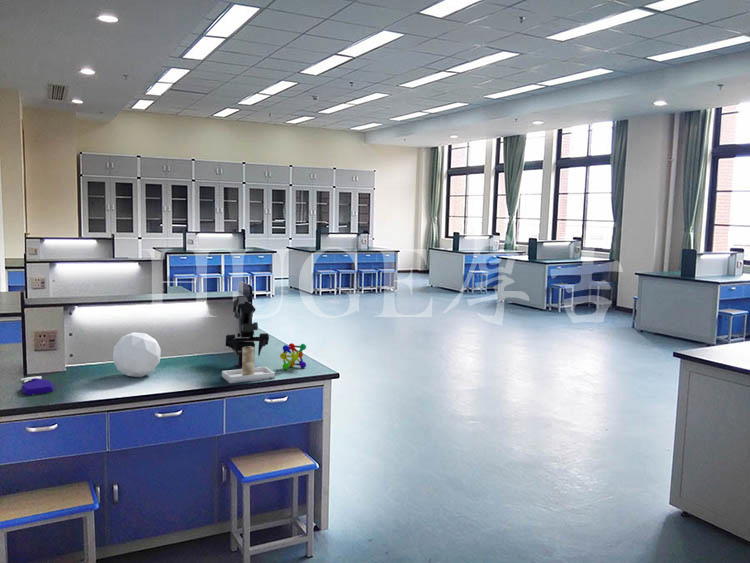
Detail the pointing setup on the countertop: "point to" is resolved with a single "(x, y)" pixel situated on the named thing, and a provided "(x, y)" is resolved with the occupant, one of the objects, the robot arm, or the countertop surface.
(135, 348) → the geometric polyhedron
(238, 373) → the grey tray
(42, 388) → the spray bottle
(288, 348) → the molecular model
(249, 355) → the maple post
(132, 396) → the countertop surface
